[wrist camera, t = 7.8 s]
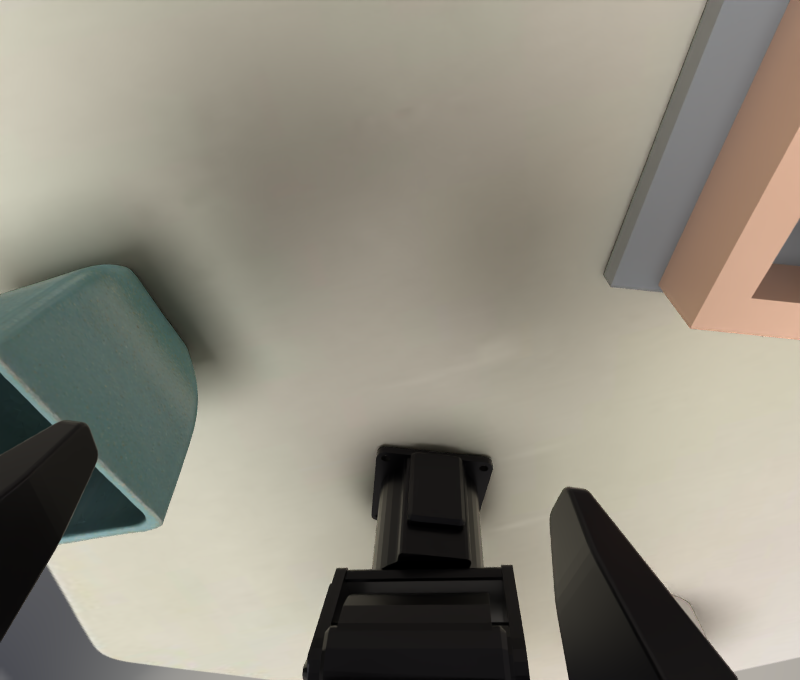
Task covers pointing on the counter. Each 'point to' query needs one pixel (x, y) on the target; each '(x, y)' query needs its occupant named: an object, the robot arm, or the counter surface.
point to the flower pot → (100, 390)
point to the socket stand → (725, 179)
